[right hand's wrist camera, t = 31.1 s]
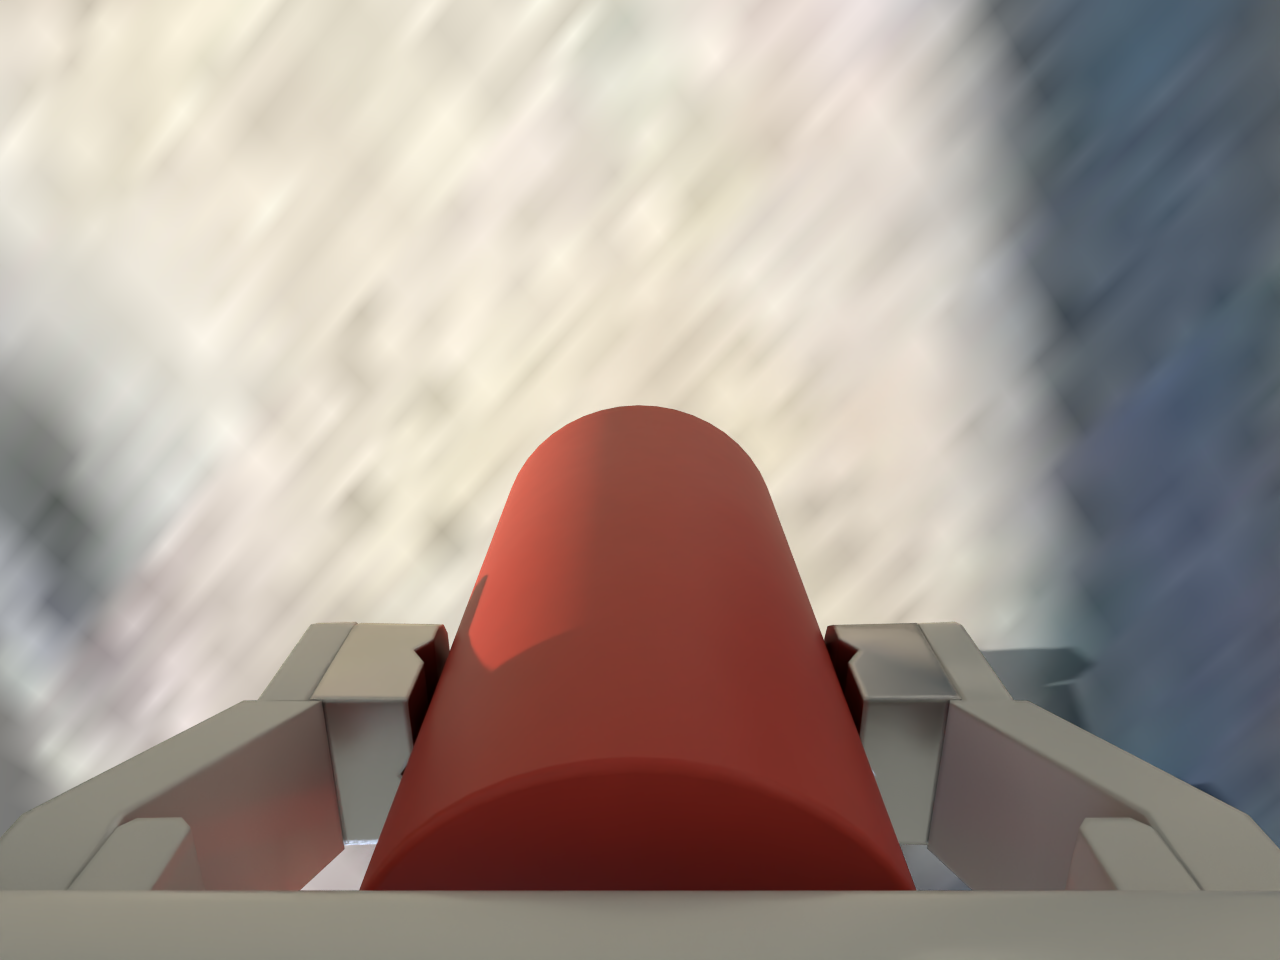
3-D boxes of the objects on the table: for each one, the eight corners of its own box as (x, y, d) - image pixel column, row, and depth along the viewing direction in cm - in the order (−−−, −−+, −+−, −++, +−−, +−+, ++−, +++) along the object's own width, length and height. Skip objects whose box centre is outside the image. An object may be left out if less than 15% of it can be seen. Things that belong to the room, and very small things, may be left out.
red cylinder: (797, 421, 14) (1011, 799, 6) (749, 662, 15) (866, 1217, 7) (514, 388, 13) (335, 731, 6) (496, 635, 15) (337, 1174, 7)
